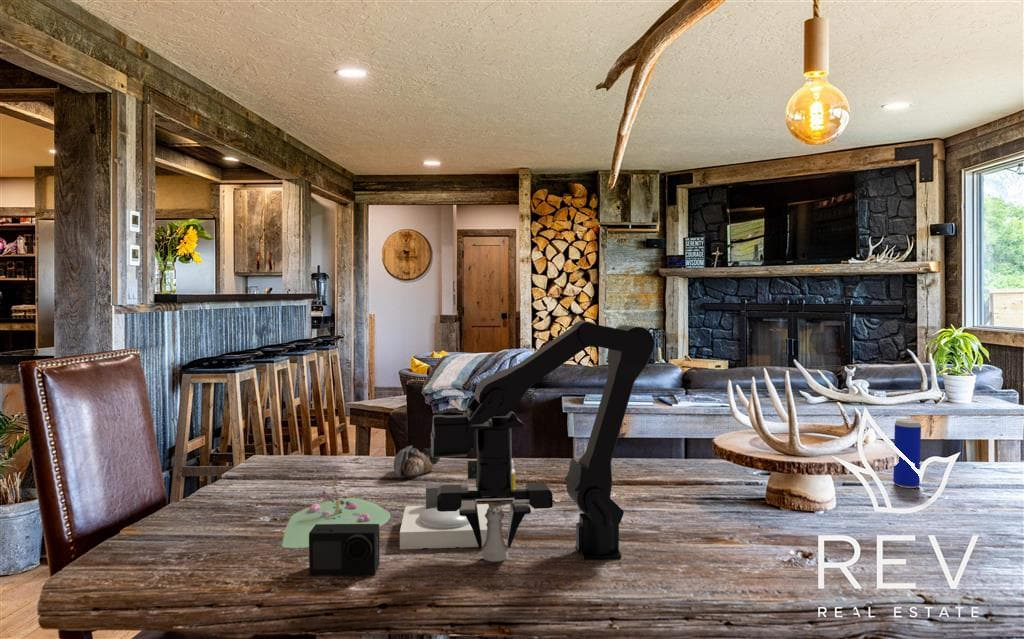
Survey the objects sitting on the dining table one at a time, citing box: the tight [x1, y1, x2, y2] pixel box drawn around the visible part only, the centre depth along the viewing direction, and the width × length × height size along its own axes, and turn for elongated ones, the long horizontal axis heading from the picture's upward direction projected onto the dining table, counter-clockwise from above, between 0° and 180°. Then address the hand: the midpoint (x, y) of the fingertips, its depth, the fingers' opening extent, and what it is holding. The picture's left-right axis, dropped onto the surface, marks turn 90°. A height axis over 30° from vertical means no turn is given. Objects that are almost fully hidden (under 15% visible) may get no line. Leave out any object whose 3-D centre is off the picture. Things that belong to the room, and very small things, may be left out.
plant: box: [281, 474, 391, 549], centre depth 129 cm, size 25×21×9 cm
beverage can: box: [892, 418, 922, 489], centre depth 154 cm, size 5×5×15 cm
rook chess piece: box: [481, 507, 509, 563], centre depth 112 cm, size 4×4×8 cm
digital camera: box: [308, 524, 380, 577], centre depth 108 cm, size 10×5×7 cm, turn 91°
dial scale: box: [399, 483, 490, 550], centre depth 124 cm, size 16×14×7 cm
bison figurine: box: [393, 445, 441, 477], centre depth 164 cm, size 12×7×10 cm
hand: (494, 547), depth 112 cm, fingers closed on rook chess piece, 4 cm apart
